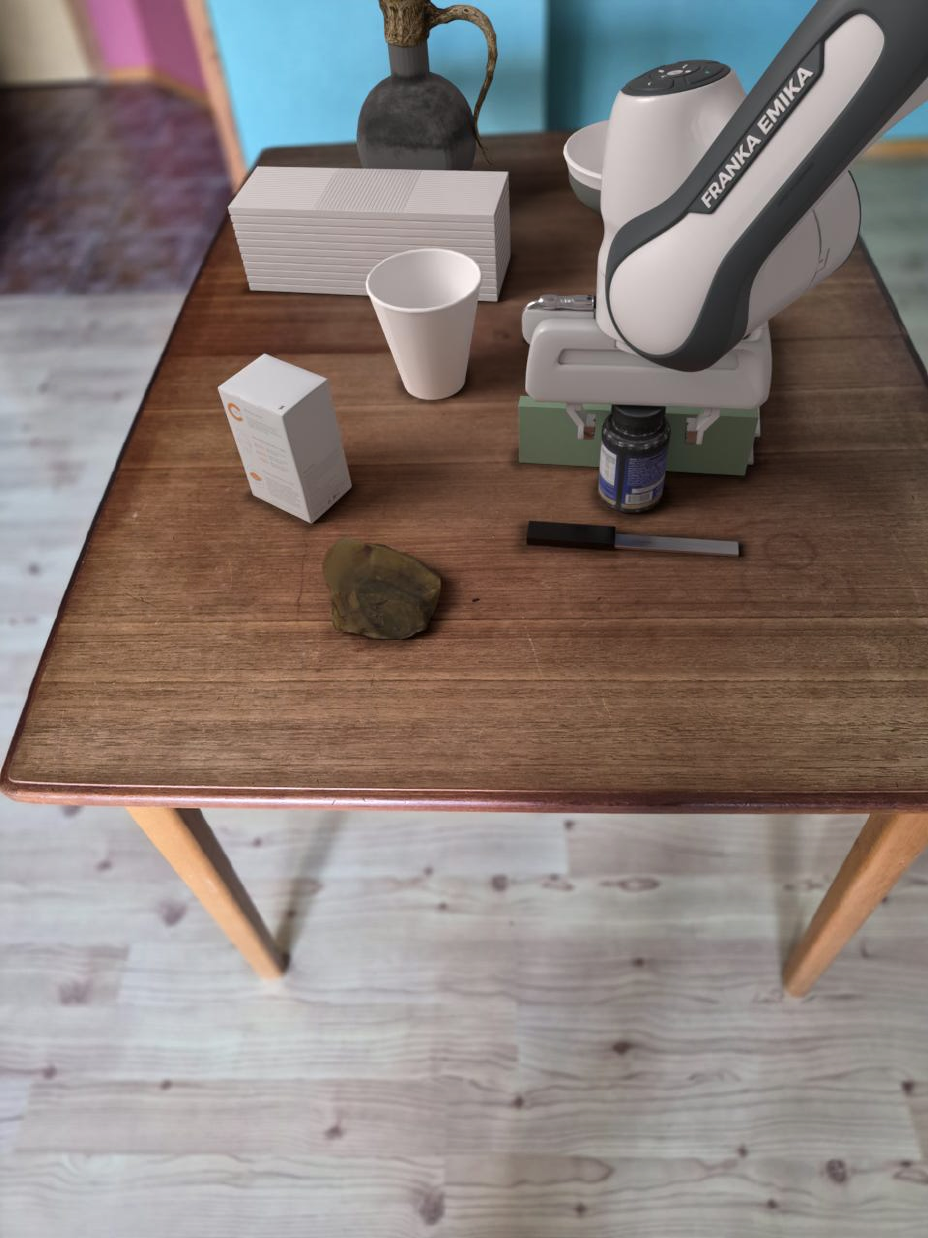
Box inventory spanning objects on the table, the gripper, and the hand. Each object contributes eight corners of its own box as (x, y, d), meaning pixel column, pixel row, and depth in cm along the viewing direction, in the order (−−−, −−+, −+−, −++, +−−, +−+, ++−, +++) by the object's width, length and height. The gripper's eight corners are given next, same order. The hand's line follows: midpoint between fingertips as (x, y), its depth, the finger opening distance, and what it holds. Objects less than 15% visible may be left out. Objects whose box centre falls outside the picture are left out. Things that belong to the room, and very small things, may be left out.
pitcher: (382, 187, 129) (349, -66, 106) (510, 195, 125) (504, -66, 102) (358, 224, 122) (317, -37, 99) (492, 233, 118) (482, -36, 95)
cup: (509, 375, 98) (507, 271, 89) (435, 428, 93) (424, 324, 84) (433, 337, 104) (423, 235, 94) (359, 386, 99) (340, 283, 89)
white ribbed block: (510, 256, 114) (508, 171, 106) (497, 301, 108) (493, 214, 100) (276, 247, 120) (257, 165, 111) (250, 290, 113) (227, 206, 105)
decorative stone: (451, 568, 81) (448, 541, 78) (426, 648, 75) (422, 622, 72) (342, 554, 83) (335, 527, 80) (309, 631, 77) (301, 605, 74)
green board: (744, 464, 87) (758, 406, 81) (744, 475, 86) (758, 417, 80) (521, 452, 90) (520, 395, 85) (519, 462, 89) (518, 405, 84)
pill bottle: (669, 481, 86) (684, 386, 77) (651, 523, 83) (664, 428, 74) (609, 466, 88) (617, 372, 79) (588, 506, 84) (594, 412, 76)
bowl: (711, 240, 114) (722, 175, 107) (565, 248, 115) (567, 183, 109) (690, 173, 126) (698, 111, 119) (558, 181, 127) (559, 120, 120)
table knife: (737, 542, 80) (739, 534, 80) (738, 559, 79) (740, 552, 78) (529, 527, 83) (529, 520, 82) (526, 544, 82) (526, 537, 81)
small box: (353, 487, 88) (330, 377, 78) (311, 526, 85) (281, 416, 75) (293, 459, 92) (263, 350, 81) (251, 495, 88) (214, 387, 78)
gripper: (515, 316, 69) (520, 455, 79) (789, 322, 66) (756, 466, 76) (525, 274, 73) (528, 411, 83) (784, 277, 70) (753, 420, 80)
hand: (639, 437), depth 80 cm, fingers open, 8 cm apart
